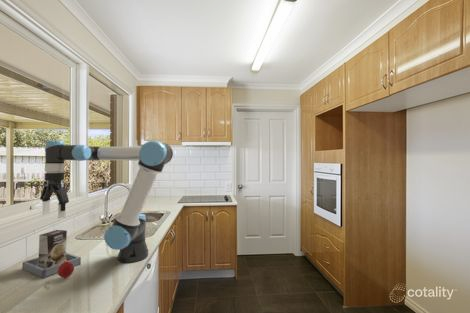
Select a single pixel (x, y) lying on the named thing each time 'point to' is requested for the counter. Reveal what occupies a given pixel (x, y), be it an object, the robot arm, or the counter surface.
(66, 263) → the onion
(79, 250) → the counter surface
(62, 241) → the coffee box
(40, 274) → the tray
